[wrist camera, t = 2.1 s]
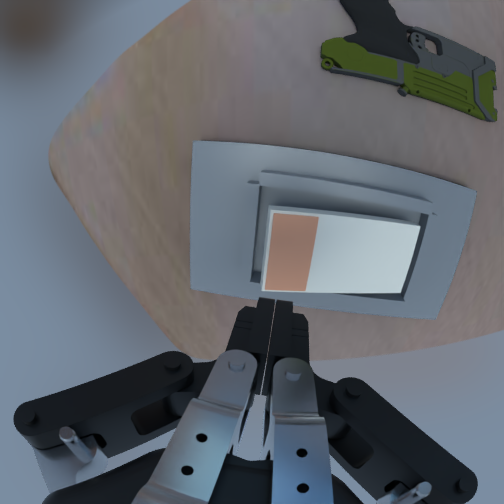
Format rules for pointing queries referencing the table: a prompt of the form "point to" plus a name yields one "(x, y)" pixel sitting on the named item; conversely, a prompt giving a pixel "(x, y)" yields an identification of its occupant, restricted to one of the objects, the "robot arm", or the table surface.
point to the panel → (321, 198)
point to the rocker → (335, 252)
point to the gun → (412, 60)
